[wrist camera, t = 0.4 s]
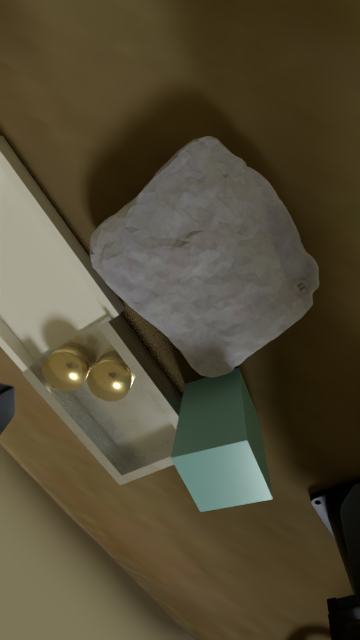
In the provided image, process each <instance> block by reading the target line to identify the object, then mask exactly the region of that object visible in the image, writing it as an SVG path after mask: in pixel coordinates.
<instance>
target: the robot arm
mask: <svg viewBox="0 0 360 640" xmlns="http://www.w3.org/2000/svg"><path fill="white" fill-rule="evenodd" d="M14 412H15V389H14V387H13V386H12V385H8V384H5V383H1V382H0V435H1V433H2V432H3V430H4V429H5V428H6V426H7V425H8V424H9V422H10V421H11V419H12V417H13V415H14ZM310 500H311V503H312V505H313V507H314V508H315V510H316V511H317V513H318V514H319V516H320V517H321V519H322V520H323V522H324V523H325V525H326V526H327V528H328V529H329V531H330V533H331V534H332V536H333V537H334V539H335V540H336V543H337V546H338V549H339V552H340V555H341V558H342V561H343V563H344V566H345V569H346V572H347V575H348V578H349V581H350V584H351V587H352V590H353V593H354V595H350V596H346V597H342V598H338V599H336V598H335V597H334V598H330V599H327V604H328V611H329V614H328V618H329V625H330V631H331V638H332V640H360V480H359V481H355V482H352V483H349V484H345V485H342V486H339V487H335V488H332V489H328V490H325V491H322V492H318V493H315V494H312V495H311V496H310Z"/></svg>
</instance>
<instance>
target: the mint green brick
mask: <svg viewBox="0 0 360 640" xmlns="http://www.w3.org/2000/svg"><path fill="white" fill-rule="evenodd" d="M171 459H172V461H173V463H174V465H175V467H176V469H177V470H178V472H179V474H180V476H181V478H182V479H183V481H184V483H185V485H186V487H187V488H188V490H189V492H190V494H191V496H192V498H193V499H194V501H195V503H196V505H197V507H198V508H199V510H200V512H203V511H209V510H215V509H220V508H226V507H232V506H237V505H243V504H249V503H254V502H260V501H266V500H271V499H273V496H272V491H271V485H270V480H269V474H268V469H267V463H266V458H265V452H264V447H263V441H262V436H261V430H260V425H259V419H258V414H257V411H256V409H255V406H254V404H253V401H252V399H251V396H250V394H249V392H248V389H247V387H246V384H245V382H244V379H243V377H242V375H241V372H240V370H239V368H236V369H233V371H231V372H230V373H228V374H225V375H222V376H218V377H214V378H211V377H206V378H203V379H200V380H196V381H193V382H190V383H186V384H185V387H184V392H183V397H182V403H181V408H180V413H179V418H178V423H177V428H176V433H175V439H174V444H173V449H172V454H171Z"/></svg>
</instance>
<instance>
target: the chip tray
mask: <svg viewBox="0 0 360 640" xmlns="http://www.w3.org/2000/svg"><path fill="white" fill-rule="evenodd" d="M124 309H125V306H124V305H123V304H122V302H121V301H120V299H119V298H118V297H117V295H116V294H115V292H114V291H113V290H112V289H111V288H110V287H109V286H108V285H107V284H106V283H105V281H104V280H103V279H102V277H101V276H100V275H99V274H98V273H97V272H96V270H95V269H94V268H93V267H92V263H91V259H90V257H89V256H88V255H87V253H86V252H85V250H84V249H83V248H82V246H81V245H80V243H79V242H78V241H77V239H76V238H75V236H74V235H73V234H72V232H71V231H70V229H69V228H68V227H67V225H66V224H65V222H64V221H63V220H62V218H61V217H60V215H59V214H58V213H57V211H56V210H55V208H54V207H53V206H52V204H51V203H50V201H49V200H48V199H47V197H46V196H45V194H44V193H43V192H42V190H41V189H40V187H39V186H38V185H37V183H36V182H35V180H34V179H33V178H32V176H31V175H30V173H29V172H28V171H27V169H26V168H25V166H24V165H23V164H22V162H21V161H20V159H19V158H18V157H17V155H16V154H15V152H14V151H13V150H12V148H11V147H10V145H9V144H8V143H7V141H6V140H5V138H4V137H3V136H0V346H1V348H2V349H3V350H4V351H5V352H6V353H7V354H8V356H9V357H10V358H11V359H12V360H13V361H14V362H15V364H16V365H17V366H18V367H19V368H20V369H21V370H22V372H23V371H24V370H25V369H26V368H28V367H29V366H30V365H31V364H33V363H34V362H35V361H36V360H38V359H39V358H41V357H42V356H44V355H46V354H47V353H49V352H51V351H52V350H54V349H55V348H57V347H59V346H60V345H62V344H63V343H65V342H67V341H68V340H70V339H72V338H73V337H75V336H76V335H78V334H80V333H81V332H83V331H84V330H86V329H88V328H89V327H91V326H93V325H94V324H96V323H97V322H99V321H101V320H102V319H104V318H105V317H107V316H110V317H112V319H113V318H115V317H116V316H118V315H119V314H120V313H121V312H122V311H123V310H124Z"/></svg>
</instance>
